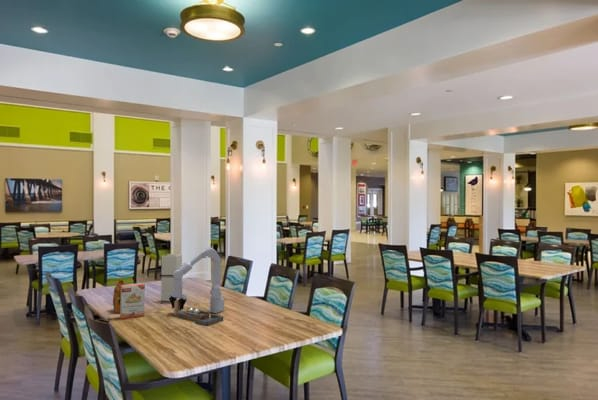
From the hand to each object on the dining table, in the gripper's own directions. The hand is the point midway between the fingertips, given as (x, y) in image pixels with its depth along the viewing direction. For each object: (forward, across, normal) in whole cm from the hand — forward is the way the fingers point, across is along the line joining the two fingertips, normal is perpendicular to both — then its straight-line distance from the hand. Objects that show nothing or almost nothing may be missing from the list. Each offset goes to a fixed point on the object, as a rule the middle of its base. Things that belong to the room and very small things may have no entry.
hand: (177, 308), depth 272 cm
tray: (+4, +29, 0) cm, 30 cm away
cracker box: (+4, -20, -20) cm, 29 cm away
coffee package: (+4, -38, -16) cm, 41 cm away
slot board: (+4, +15, 0) cm, 15 cm away
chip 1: (-1, +13, 0) cm, 13 cm away
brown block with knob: (+4, 0, 0) cm, 4 cm away
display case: (+4, -31, +21) cm, 38 cm away
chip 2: (-1, +18, 0) cm, 18 cm away
